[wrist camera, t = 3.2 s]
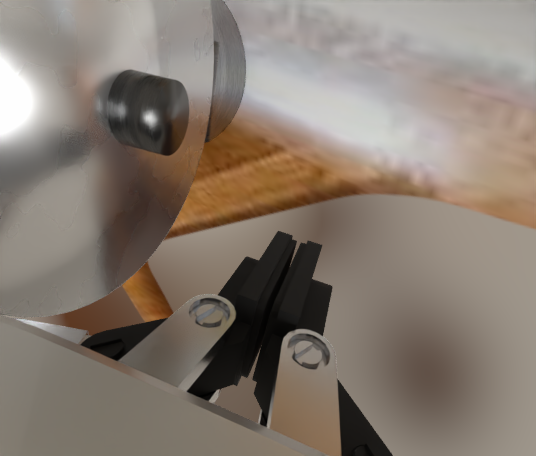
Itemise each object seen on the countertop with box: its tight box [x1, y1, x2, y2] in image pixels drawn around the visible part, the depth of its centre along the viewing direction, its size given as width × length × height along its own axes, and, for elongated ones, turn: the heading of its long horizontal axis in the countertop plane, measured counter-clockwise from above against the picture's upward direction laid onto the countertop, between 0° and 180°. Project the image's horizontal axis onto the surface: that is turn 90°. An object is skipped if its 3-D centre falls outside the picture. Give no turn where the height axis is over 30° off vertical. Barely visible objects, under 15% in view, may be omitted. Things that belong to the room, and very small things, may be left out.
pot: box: [204, 0, 246, 143], centre depth 22 cm, size 13×19×9 cm
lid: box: [0, 0, 220, 317], centre depth 11 cm, size 15×14×2 cm
